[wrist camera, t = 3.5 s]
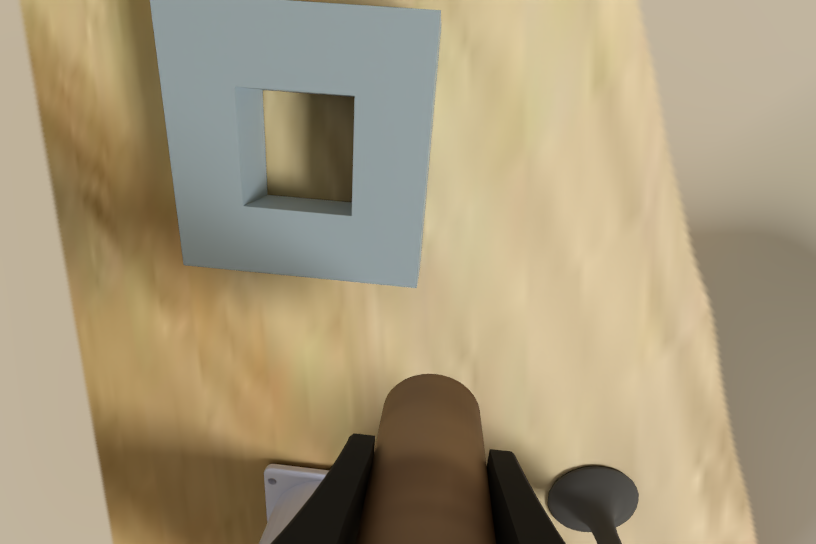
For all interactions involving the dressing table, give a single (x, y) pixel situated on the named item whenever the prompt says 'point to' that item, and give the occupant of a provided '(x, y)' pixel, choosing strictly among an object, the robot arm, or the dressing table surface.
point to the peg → (428, 468)
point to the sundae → (594, 501)
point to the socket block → (245, 138)
